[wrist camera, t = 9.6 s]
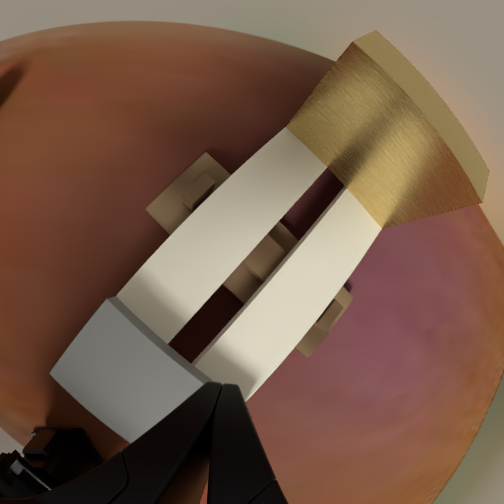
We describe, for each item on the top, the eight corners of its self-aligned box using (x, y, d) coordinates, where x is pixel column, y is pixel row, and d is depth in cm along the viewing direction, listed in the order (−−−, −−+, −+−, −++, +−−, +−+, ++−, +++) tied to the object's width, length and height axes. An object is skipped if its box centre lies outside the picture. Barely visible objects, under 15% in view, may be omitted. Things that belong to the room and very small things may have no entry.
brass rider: (375, 230, 20) (482, 202, 10) (282, 131, 18) (352, 41, 9) (412, 169, 21) (494, 132, 12) (336, 87, 20) (401, 18, 11)
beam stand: (302, 354, 21) (323, 367, 17) (147, 212, 19) (140, 199, 16) (347, 297, 22) (372, 299, 19) (204, 157, 20) (209, 136, 17)
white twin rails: (184, 451, 15) (186, 477, 12) (67, 359, 14) (49, 373, 11) (418, 156, 22) (439, 146, 19) (347, 79, 21) (364, 61, 18)
